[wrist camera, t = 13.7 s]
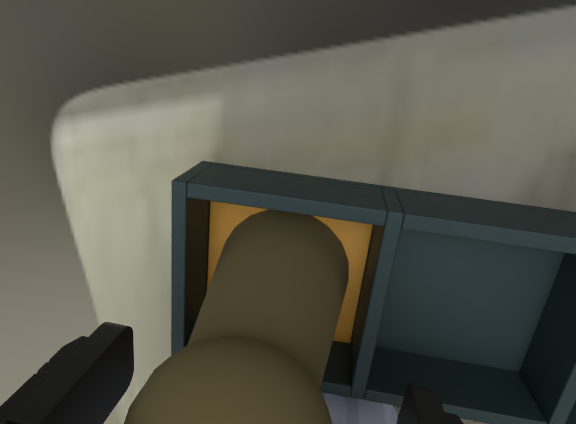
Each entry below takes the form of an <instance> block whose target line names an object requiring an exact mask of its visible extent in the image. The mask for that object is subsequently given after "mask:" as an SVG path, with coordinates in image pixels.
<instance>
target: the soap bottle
mask: <svg viewBox="0 0 576 424" xmlns="http://www.w3.org/2000/svg"><path fill="white" fill-rule="evenodd" d="M321 393H322V395H323V397H324V400H325V402H326V404H327V407H328V410H329V413H330V417H331V421H332V424H396V423H397V419H398V416H397V411H396V409H395V408H394V406H393V405H388V404H382V403H377V402H372V401H366V400H364V398H363V400H361V399H356V398H351V397H350V396H349V397H345V396H339V395H334V394H329V393H323V392H321Z"/></svg>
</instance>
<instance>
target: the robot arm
mask: <svg viewBox="0 0 576 424" xmlns="http://www.w3.org/2000/svg"><path fill="white" fill-rule="evenodd" d="M133 372H134V349H133V330H132V328H131V327H129V326H124V325H119V324H114V323H109V322H104V323H103V324H101V325H100V326H99V327H98V328H97V329H96V330H95V331H94V332H93V333H92V334H91V335H90V336H89V337H85V336H81V337H79V338H78V339H76V340H74V341H72V342H70V343H68V344H67V345H65V346H63V347H62V348H61V349H60V350H59V351H58V352H57V353H56V354H55V355H54V356H53V357H52V358H51V359H50V360H49V362H46V363H45V364H44V365H43V366H42V367H41V368H40V369H39V370H38V372H37V374H34V375H33V376H32V377H31V378H30V379H29V380H28V381H26V382H25V383H24V384H23V385H22V386H21V387H20V388H19V389H18V390H17V391H16V392H15V393H14V394H13V395H12V396H11V397H10V398H9V399H8V400H7V401H5V402H4V403H3V404H2V405H1V406H0V424H103V423H104V421H105V420H106V419H107V417H108V416H109V414H110V413H111V412H112V410H113V409H114V407H115V406H116V405H117V403H118V402H119V400H120V399H121V398H122V396H123V395H124V393H125V392H126V390H127V389H128V387H129V385H130V382H131V380H132V376H133ZM396 424H464V423H463V422H462V421H461V419H460V418H459V417H458V415H457V414H452V413H447V412H444V409H443V405H442V401H441V398H440V394H439V392H438V390H437V389H432V388H427V387H422V386H418V385H413V384H408V386H407V388H406V391H405V395H404V398H403V402H402V405H401V409H400V412H399V416H398V419H397V423H396Z"/></svg>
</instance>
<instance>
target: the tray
mask: <svg viewBox="0 0 576 424" xmlns="http://www.w3.org/2000/svg"><path fill="white" fill-rule="evenodd" d="M268 209H270V210H277V211H284V212H291V213H298V214H304V215H311V216H314V217H315V218H317V219H318V220H320V221H321V222H323V223H324V224H326V225H327V226H329V227H330V229H331V230H332V231H333V232H334V234H335V235H336V236H337V237H338V239H339V240H340V241H341V242H342V244H343V247H344V250H345V253H346V255H347V258H348V261H349V280H348V284H347V288H346V292H345V296H344V300H343V303H342V307H341V311H340V315H339V319H338V323H337V326H336V330H335V334H334V338H333V342H332V345H331V349H330V353H329V357H328V361H327V365H326V368H325V372H324V376H323V380H322V384H321V387H320V390H321V392H323V393H329V394H334V395H339V396H345V397H349V396H350V397H351V398H356V399H361V400H363V398H364V400H366V401H372V402H377V403H382V404H388V405H393V406H398V407H401V405H402V402H403V398H404V395H405V391H406V388H407V386H408V384H413V385H418V386H422V387H427V388H432V389H437V390H438V392H439V394H440V398H441V401H442V405H443V409H444V412H447V413H452V414H457V415H458V417H459V418H463V419H468V420H473V421H479V422H484V423H489V424H576V212H569V211H562V210H555V209H547V208H540V207H533V206H526V205H518V204H511V203H504V202H496V201H489V200H482V199H475V198H467V197H460V196H453V195H446V194H438V193H431V192H424V191H416V190H409V189H402V188H395V187H387V186H380V185H373V184H365V183H358V182H351V181H344V180H336V179H329V178H322V177H315V176H307V175H300V174H293V173H285V172H278V171H271V170H264V169H256V168H249V167H242V166H234V165H227V164H220V163H213V162H205V161H202V162H200V163H199V164H197V165H196V166H194V167H193V168H191V169H190V170H188V171H186V172H185V173H183V174H182V175H180V176H179V177H177V178H175V179H174V180H172V335H171V356H172V355H174V354H175V353H177V352H178V351H180V350H181V349H183V348H184V347H186V346H187V345H188V342H189V340H190V337H191V334H192V331H193V329H194V326H195V323H196V320H197V318H198V315H199V312H200V309H201V307H202V304H203V301H204V299H205V296H206V293H207V290H208V288H209V285H210V282H211V279H212V277H213V274H214V271H215V268H216V266H217V263H218V260H219V257H220V255H221V252H222V249H223V246H224V244H225V241H226V240H227V238H228V237H229V235H230V234H231V232H232V231H233V229H234V228H235V226H237V225H238V224H239V223H241V222H242V221H243V220H245V219H246V218H247V217H249V216H250V215H252V214H256V213H259V212H262V211H265V210H268Z"/></svg>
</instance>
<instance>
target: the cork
mask: <svg viewBox="0 0 576 424" xmlns="http://www.w3.org/2000/svg"><path fill="white" fill-rule="evenodd" d="M348 280H349V261H348V258H347V255H346V253H345V250H344V247H343V244H342V242H341V241H340V240H339V239H338V237H337V236H336V235H335V234H334V232H333V231H332V230H331V229H330V227H329V226H327V225H326V224H324V223H323V222H321V221H320V220H318V219H317V218H315V217H314V216H311V215H304V214H298V213H291V212H284V211H277V210H270V209H268V210H265V211H262V212H259V213H256V214H252V215H250V216H249V217H247V218H246V219H245V220H243V221H242V222H241V223H239V224H238V225H237V226H235V228H234V229H233V231H232V232H231V234H230V235H229V237H228V238H227V240H226V241H225V244H224V246H223V249H222V252H221V255H220V257H219V260H218V263H217V266H216V268H215V271H214V274H213V277H212V279H211V282H210V285H209V288H208V290H207V293H206V296H205V299H204V301H203V304H202V307H201V309H200V312H199V315H198V318H197V320H196V323H195V326H194V329H193V331H192V334H191V337H190V340H189V342H188V345H187V346H186V347H184V348H183V349H181V350H180V351H178V352H177V353H175V354H174V355H172V356H170V357H169V358H168V359H167V360H166V361H164V362H163V363H162V364H161V365H160V366H158V367H157V368H156V369H155V370H154V372H153V373H152V375H151V376H150V377H149V379H148V380H147V382H146V383H145V385H144V386H143V388H142V389H141V391H140V392H139V394H138V395H137V397H136V398H135V400H134V401H133V403H132V404H131V406H130V407H129V410H128V413H127V416H126V419H125V422H124V424H332V421H331V417H330V413H329V410H328V407H327V404H326V402H325V400H324V397H323V395H322V393H321V390H320V387H321V384H322V380H323V376H324V372H325V368H326V365H327V361H328V357H329V353H330V349H331V345H332V342H333V338H334V334H335V330H336V326H337V323H338V319H339V315H340V311H341V307H342V303H343V300H344V296H345V292H346V288H347V284H348Z"/></svg>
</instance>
